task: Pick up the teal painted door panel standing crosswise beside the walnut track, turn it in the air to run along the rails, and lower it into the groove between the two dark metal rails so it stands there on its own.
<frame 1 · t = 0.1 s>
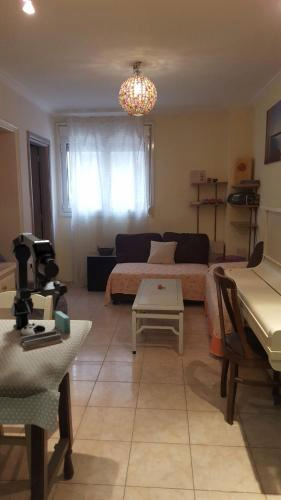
hand: (43, 312, 143), 15 cm above the table, tool pointing down, fingers open, 9 cm apart
door panel: (62, 329, 165), on the table
gaming controller: (32, 334, 161), on the table
track: (41, 342, 151), on the table
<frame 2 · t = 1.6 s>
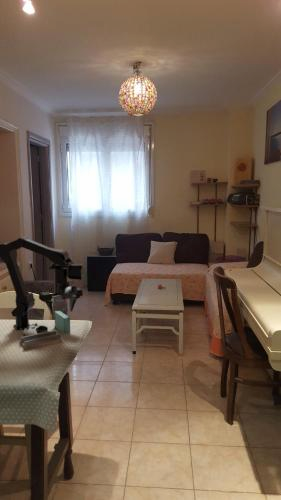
hand: (61, 313, 164), 8 cm above the table, tool pointing down, fingers open, 9 cm apart
gaming controller: (34, 334, 160), on the table
everything else where it was.
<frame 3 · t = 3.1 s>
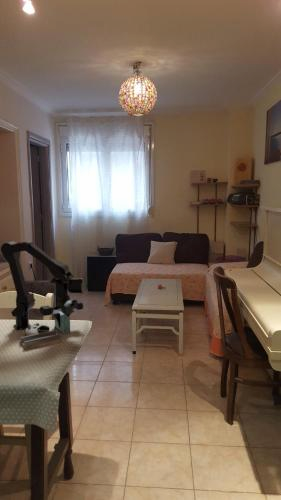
hand: (62, 326, 165), 2 cm above the table, tool pointing down, fingers closed on door panel, 2 cm apart
door panel: (62, 329, 165), on the table, touching gripper
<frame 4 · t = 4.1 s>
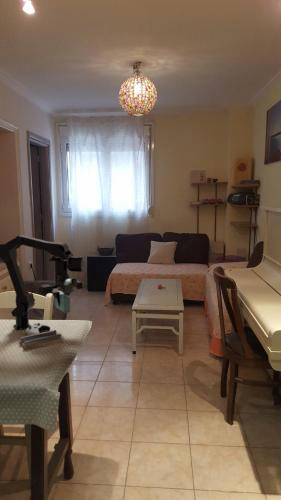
hand: (61, 305, 164), 11 cm above the table, tool pointing down, fingers closed on door panel, 2 cm apart
door panel: (62, 309, 164), point 10 cm above the table, touching gripper
gaming controller: (37, 334, 161), on the table, touching track
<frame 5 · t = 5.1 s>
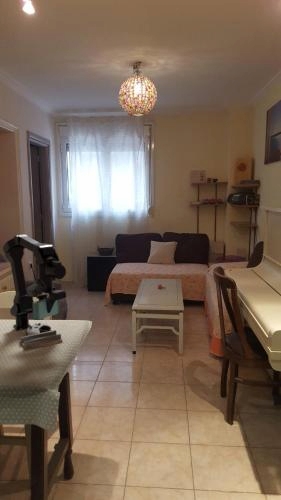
hand: (46, 312, 153), 12 cm above the table, tool pointing down, fingers closed on door panel, 2 cm apart
door panel: (46, 315, 153), point 10 cm above the table, touching gripper
gaming controller: (38, 334, 161), on the table
when the fingers open (3 cm above the table, at t = 6.9 s): door panel stays where it is, resting on track.
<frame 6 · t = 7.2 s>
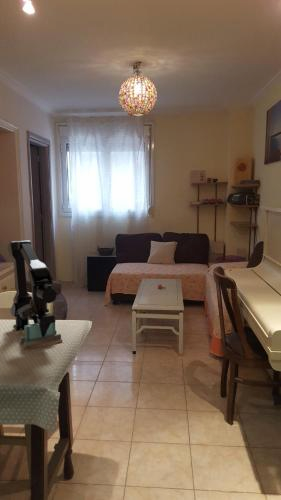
hand: (40, 334, 150), 4 cm above the table, tool pointing down, fingers open, 6 cm apart
door panel: (40, 339, 151), point 1 cm above the table, touching track
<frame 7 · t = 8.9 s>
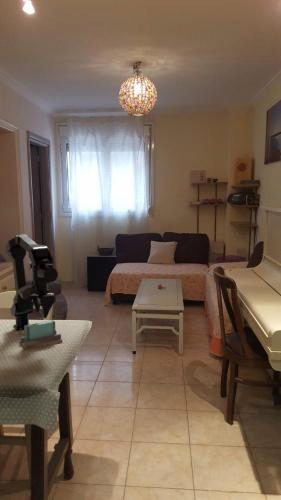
hand: (41, 314, 150), 11 cm above the table, tool pointing down, fingers open, 9 cm apart
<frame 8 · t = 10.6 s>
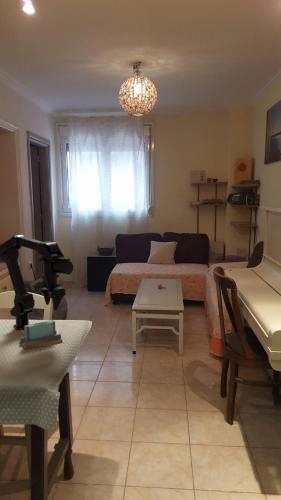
hand: (51, 307, 158), 12 cm above the table, tool pointing down, fingers open, 9 cm apart
at the end: door panel 0.1 cm off-centre on the track, point 1.0 cm above the track's base; door panel tilted 0°; the gripper is holding nothing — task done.
